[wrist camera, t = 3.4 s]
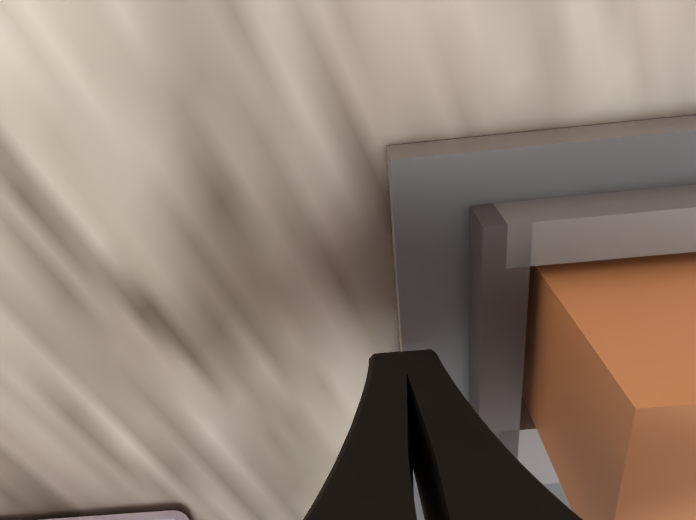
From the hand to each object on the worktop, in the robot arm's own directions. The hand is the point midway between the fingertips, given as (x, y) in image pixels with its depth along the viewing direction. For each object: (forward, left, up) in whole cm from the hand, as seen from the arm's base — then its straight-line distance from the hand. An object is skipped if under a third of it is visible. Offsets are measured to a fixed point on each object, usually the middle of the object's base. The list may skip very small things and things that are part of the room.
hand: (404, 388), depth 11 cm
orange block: (0, -5, -2) cm, 5 cm away
